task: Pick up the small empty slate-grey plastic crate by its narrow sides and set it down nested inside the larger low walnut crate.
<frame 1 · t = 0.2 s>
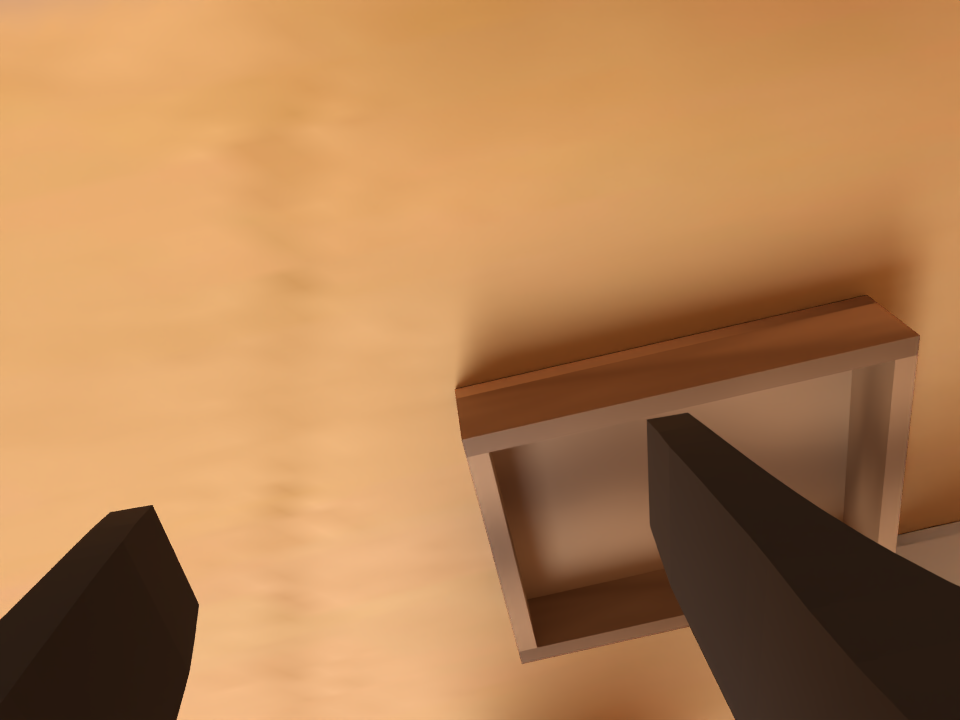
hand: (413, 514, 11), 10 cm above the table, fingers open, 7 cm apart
walnut crate: (671, 464, 24), on the table
small crate: (936, 573, 28), on the table
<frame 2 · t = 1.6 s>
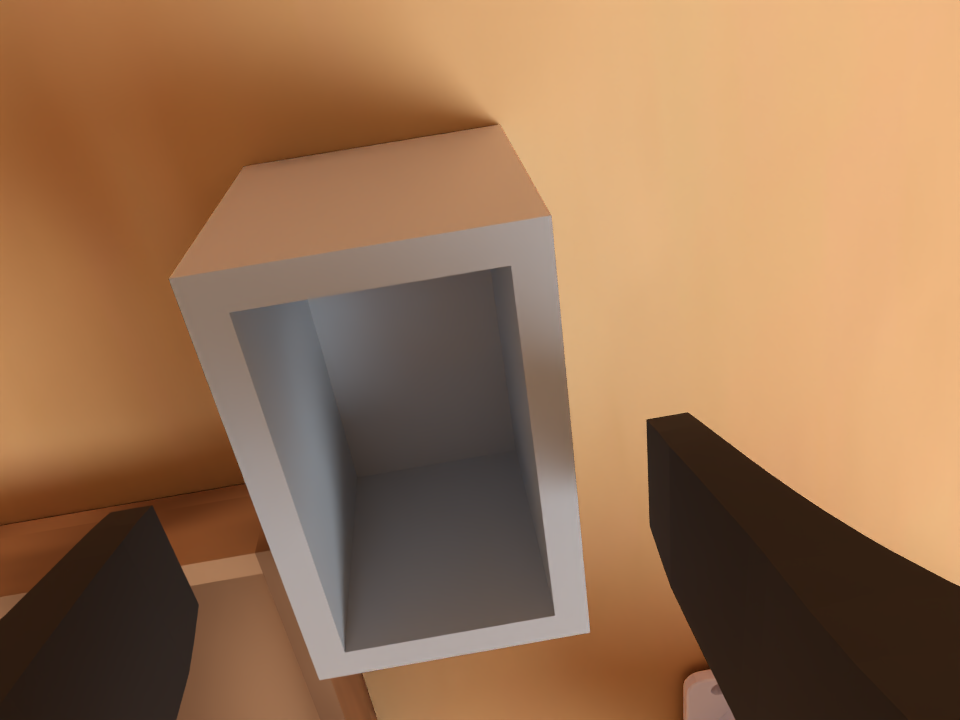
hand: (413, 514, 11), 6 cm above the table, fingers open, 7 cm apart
walnut crate: (190, 672, 21), on the table
small crate: (410, 327, 16), on the table
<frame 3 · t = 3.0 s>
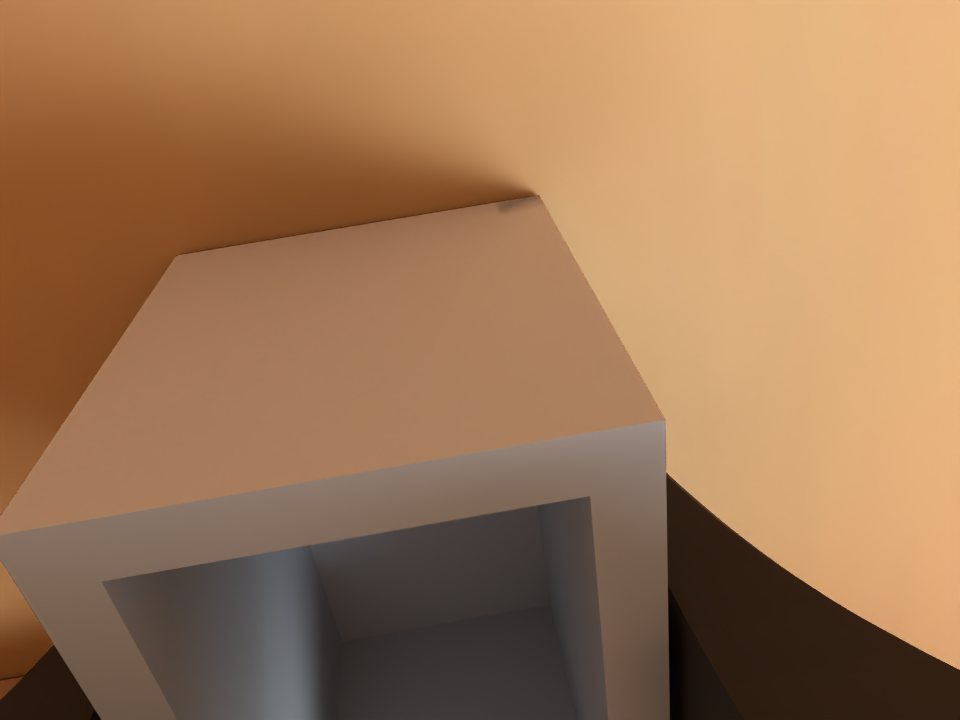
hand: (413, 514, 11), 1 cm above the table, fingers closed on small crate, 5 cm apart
small crate: (411, 457, 12), on the table, touching gripper
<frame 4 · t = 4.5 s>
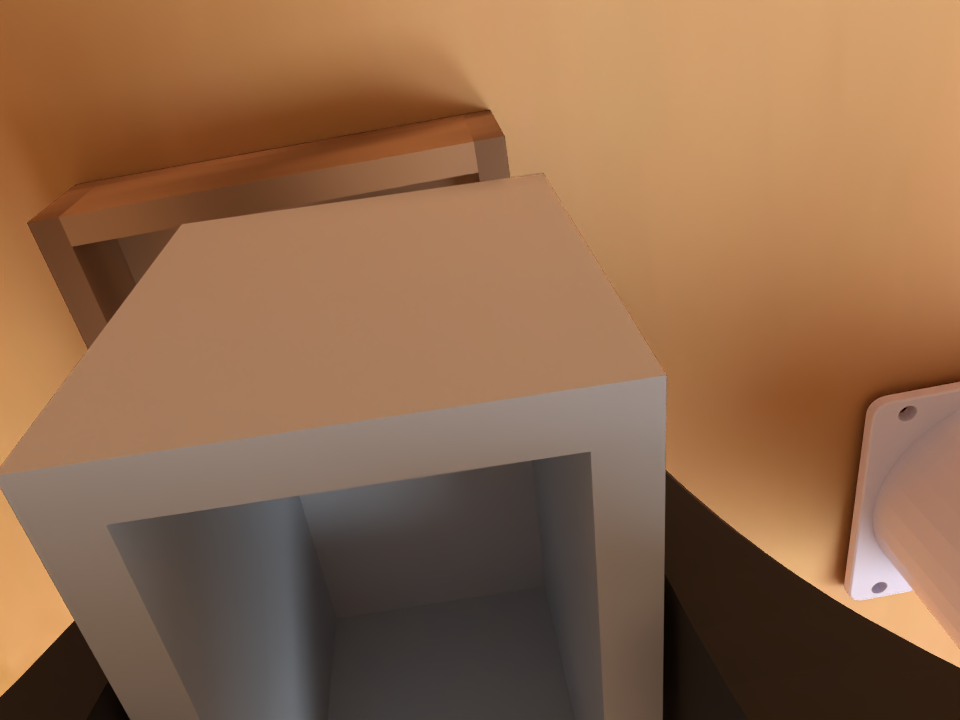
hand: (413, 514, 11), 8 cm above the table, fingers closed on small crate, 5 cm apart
walnut crate: (350, 380, 19), on the table
small crate: (410, 434, 12), point 7 cm above the table, touching gripper
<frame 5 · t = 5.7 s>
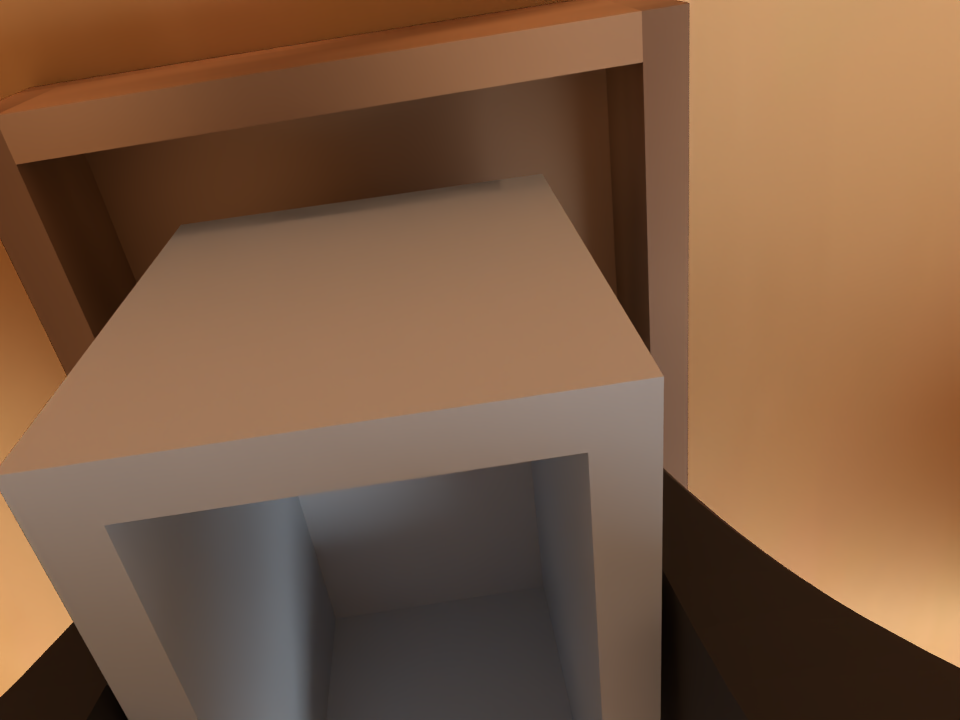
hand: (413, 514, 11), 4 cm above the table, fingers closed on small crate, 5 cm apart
walnut crate: (408, 378, 14), on the table
small crate: (409, 434, 12), point 2 cm above the table, touching gripper
when the fingers open (4 cm above the table, at t = 6.5 s): small crate drops 2 cm, resting on walnut crate.
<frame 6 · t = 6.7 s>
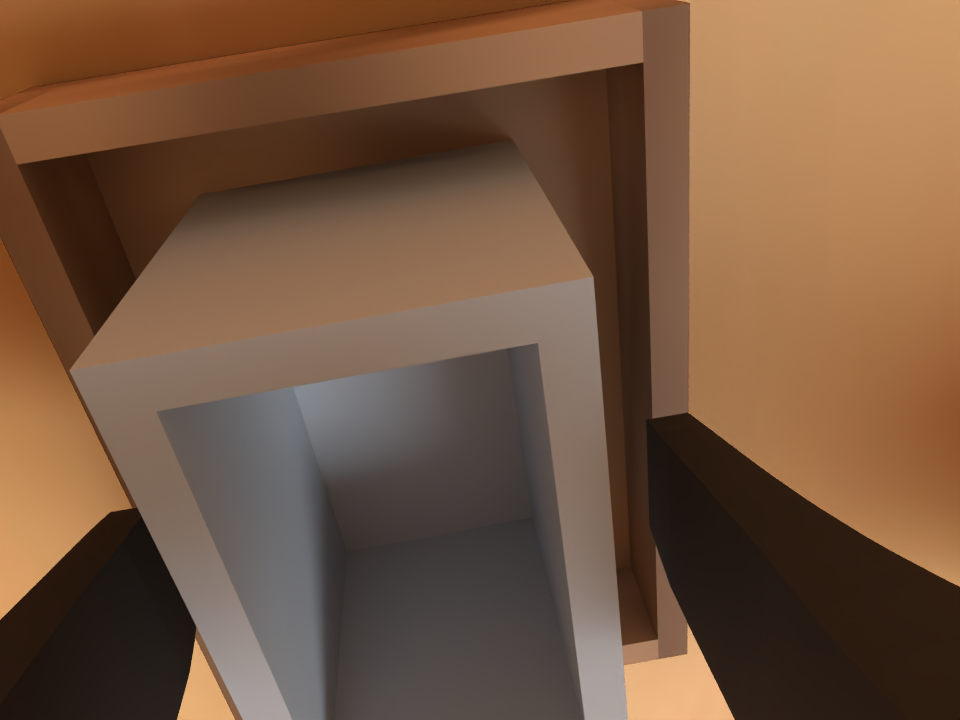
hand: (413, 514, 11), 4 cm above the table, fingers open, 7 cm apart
walnut crate: (408, 378, 14), on the table
small crate: (406, 380, 14), resting on walnut crate
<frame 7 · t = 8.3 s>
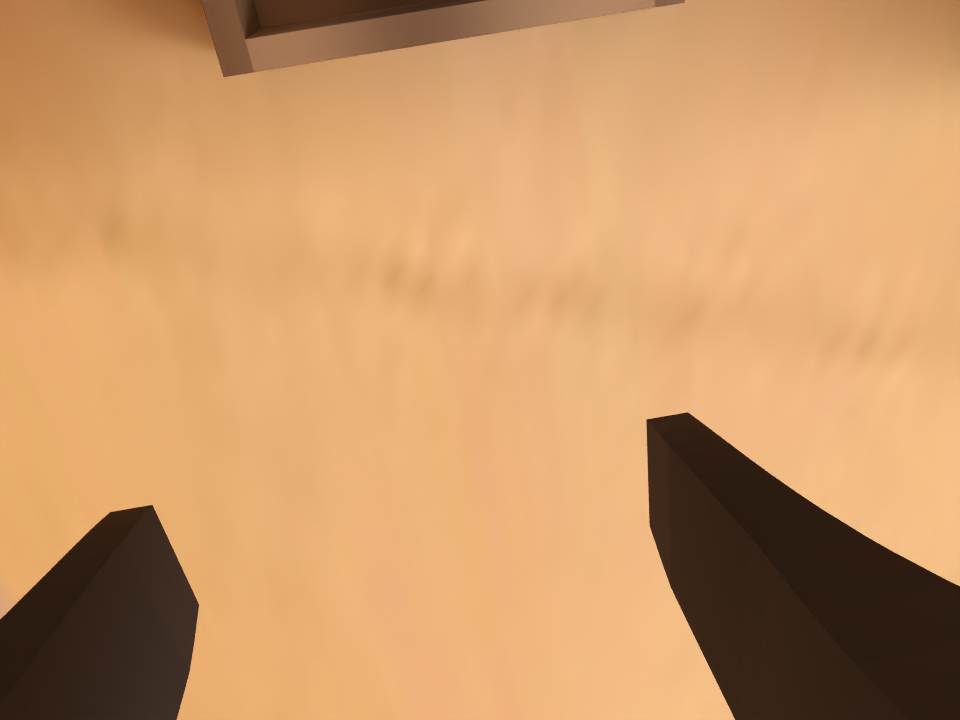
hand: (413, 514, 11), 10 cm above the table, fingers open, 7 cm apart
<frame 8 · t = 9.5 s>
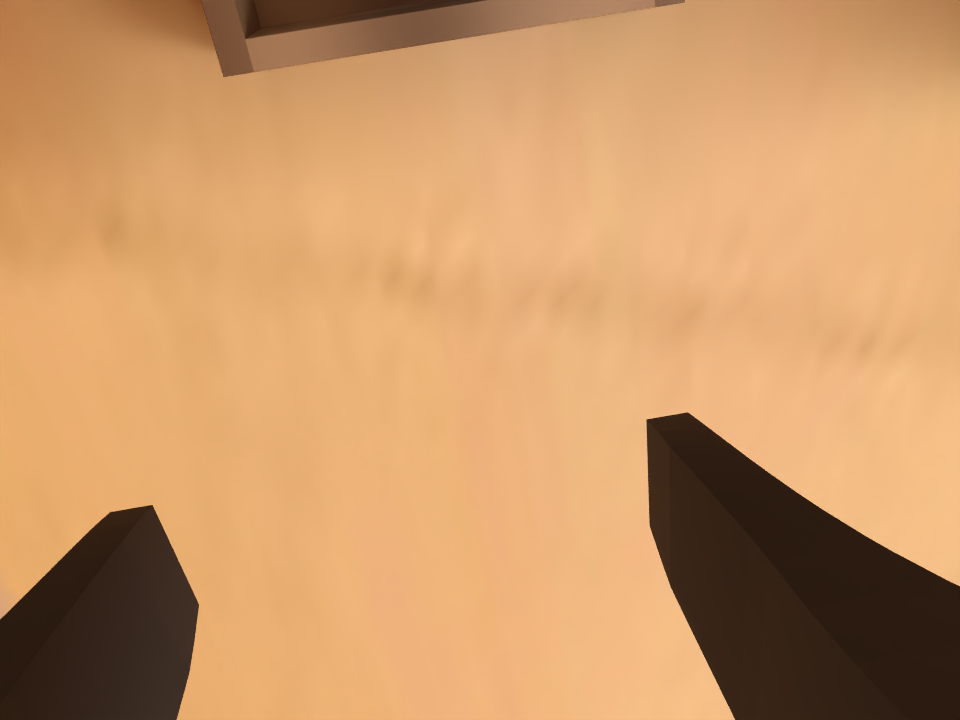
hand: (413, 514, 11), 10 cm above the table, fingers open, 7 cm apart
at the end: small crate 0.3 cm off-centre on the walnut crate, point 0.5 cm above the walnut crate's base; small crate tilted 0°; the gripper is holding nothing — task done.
